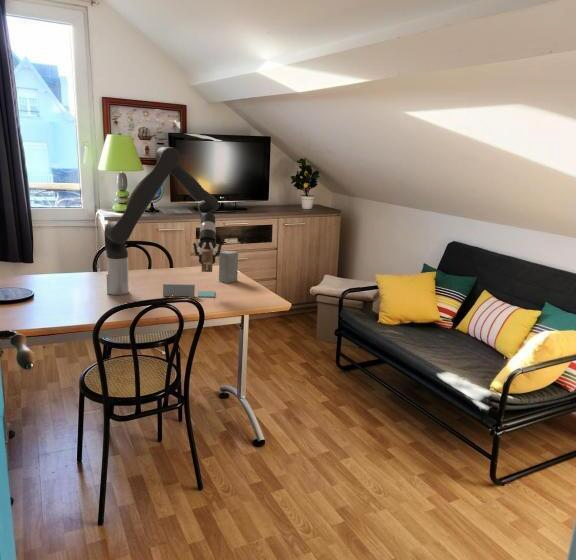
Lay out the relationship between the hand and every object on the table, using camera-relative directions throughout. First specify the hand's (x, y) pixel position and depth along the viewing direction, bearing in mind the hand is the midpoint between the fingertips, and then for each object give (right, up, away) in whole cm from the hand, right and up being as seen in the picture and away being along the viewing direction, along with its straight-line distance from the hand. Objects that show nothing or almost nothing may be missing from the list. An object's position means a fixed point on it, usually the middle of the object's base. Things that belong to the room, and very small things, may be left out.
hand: (207, 263), depth 245 cm
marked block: (-1, -4, +3) cm, 5 cm away
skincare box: (+6, -9, +31) cm, 33 cm away
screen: (-13, -16, +1) cm, 21 cm away
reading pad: (-1, -15, +6) cm, 16 cm away
